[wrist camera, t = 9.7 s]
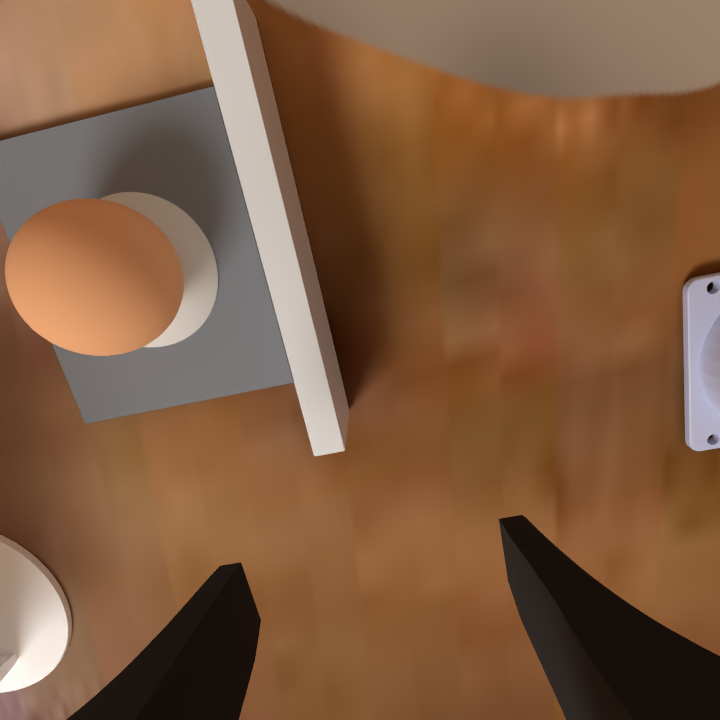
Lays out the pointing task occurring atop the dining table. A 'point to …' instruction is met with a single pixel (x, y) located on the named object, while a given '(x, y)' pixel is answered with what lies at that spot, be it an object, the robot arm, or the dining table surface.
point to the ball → (94, 277)
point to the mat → (184, 230)
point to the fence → (275, 213)
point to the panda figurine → (29, 618)
